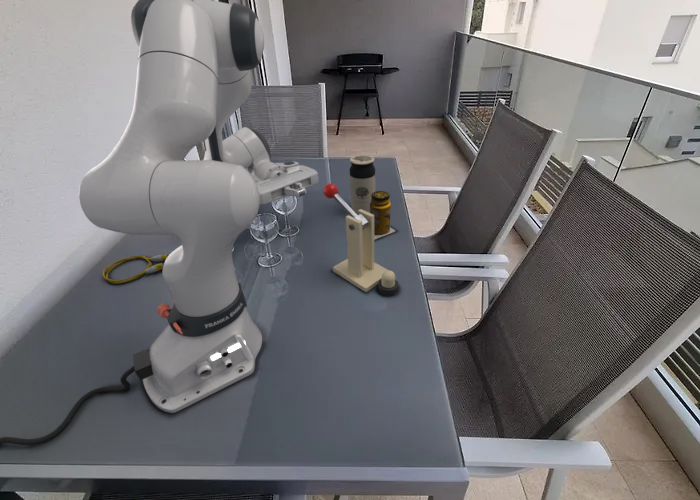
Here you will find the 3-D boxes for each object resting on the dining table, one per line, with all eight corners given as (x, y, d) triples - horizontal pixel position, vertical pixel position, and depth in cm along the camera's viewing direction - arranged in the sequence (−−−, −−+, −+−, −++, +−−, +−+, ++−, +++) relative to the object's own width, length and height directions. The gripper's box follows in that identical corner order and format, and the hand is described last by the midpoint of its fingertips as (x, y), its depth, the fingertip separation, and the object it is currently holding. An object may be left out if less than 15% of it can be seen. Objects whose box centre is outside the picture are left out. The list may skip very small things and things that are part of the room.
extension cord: (147, 287, 88) (144, 281, 87) (93, 282, 90) (90, 276, 89) (175, 259, 98) (173, 253, 96) (126, 255, 100) (123, 249, 99)
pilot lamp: (389, 299, 81) (389, 281, 78) (373, 289, 84) (373, 272, 81) (402, 289, 84) (403, 271, 80) (387, 280, 86) (387, 262, 83)
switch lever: (318, 193, 85) (322, 183, 82) (330, 188, 87) (333, 178, 84) (356, 234, 81) (360, 224, 78) (367, 228, 83) (371, 219, 80)
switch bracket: (332, 271, 90) (327, 214, 81) (357, 256, 95) (355, 201, 86) (366, 292, 83) (365, 232, 73) (390, 275, 88) (392, 217, 78)
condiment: (395, 231, 105) (397, 195, 98) (373, 240, 101) (373, 203, 95) (381, 221, 110) (381, 186, 103) (359, 230, 106) (358, 194, 100)
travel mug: (355, 204, 121) (354, 153, 110) (377, 207, 118) (378, 155, 108) (347, 215, 114) (345, 162, 104) (371, 218, 112) (371, 164, 102)
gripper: (239, 179, 95) (267, 195, 86) (299, 159, 106) (329, 171, 98) (244, 200, 98) (271, 217, 90) (302, 179, 110) (331, 192, 101)
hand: (302, 193), depth 94 cm, fingers closed
